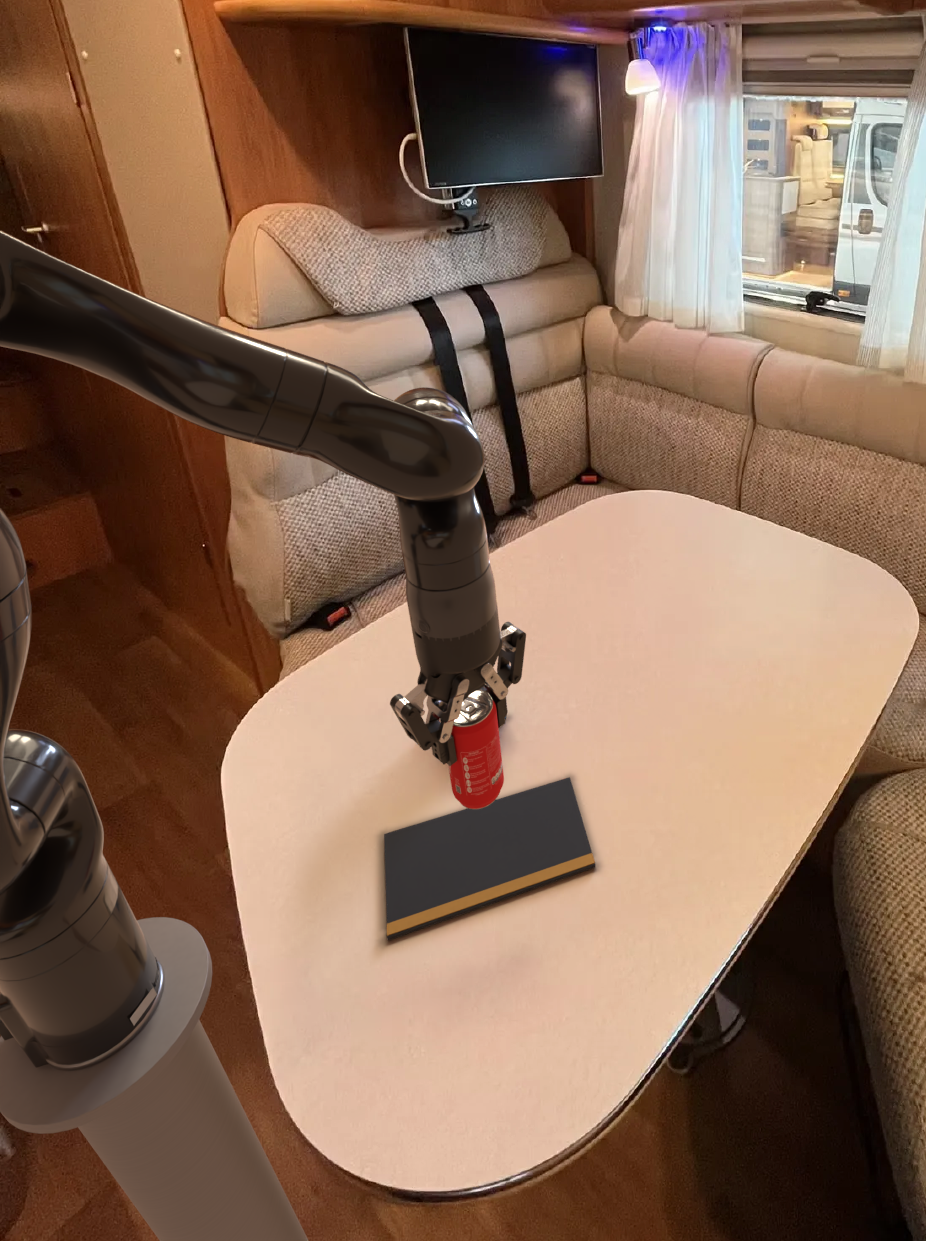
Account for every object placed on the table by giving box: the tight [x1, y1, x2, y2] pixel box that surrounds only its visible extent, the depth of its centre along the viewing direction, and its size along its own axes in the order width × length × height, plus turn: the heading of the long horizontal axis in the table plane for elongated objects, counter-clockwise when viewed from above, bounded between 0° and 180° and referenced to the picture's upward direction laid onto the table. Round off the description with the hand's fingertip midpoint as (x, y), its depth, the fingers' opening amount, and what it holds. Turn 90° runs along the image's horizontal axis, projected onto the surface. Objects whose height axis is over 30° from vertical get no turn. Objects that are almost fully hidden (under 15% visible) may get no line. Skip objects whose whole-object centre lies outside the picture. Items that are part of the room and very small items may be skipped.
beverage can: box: [447, 689, 505, 809], centre depth 73 cm, size 5×5×12 cm
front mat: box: [383, 776, 596, 941], centre depth 83 cm, size 22×12×1 cm, turn 111°
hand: (472, 739), depth 72 cm, fingers closed on beverage can, 5 cm apart
